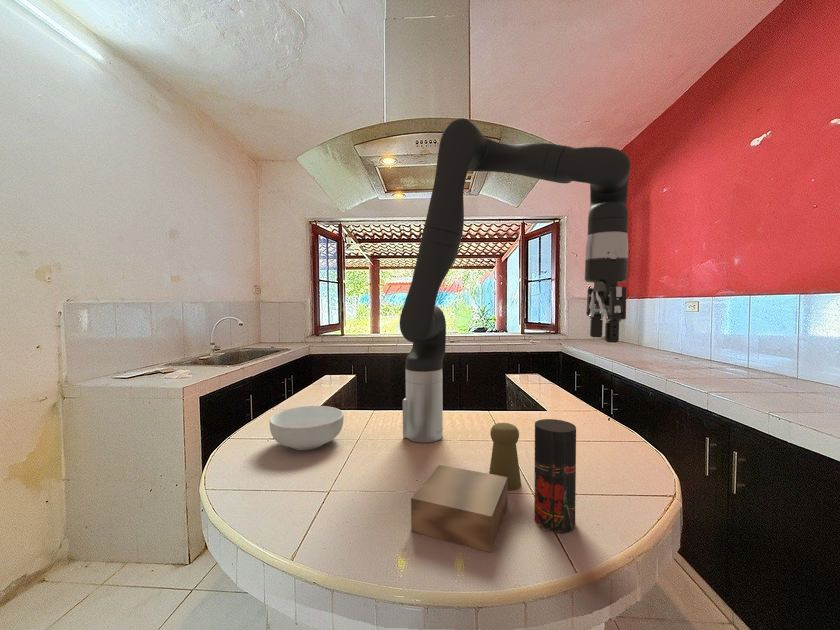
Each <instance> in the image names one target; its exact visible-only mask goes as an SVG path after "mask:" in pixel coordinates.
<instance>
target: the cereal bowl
mask: <svg viewBox="0 0 840 630" xmlns="http://www.w3.org/2000/svg"><path fill="white" fill-rule="evenodd" d="M344 414H345V413H344V412H343V411H342V410H341V409H339V408H336V407H333V406H325V405H305V406H297V407H291V408H288V409H283V410H281V411H278V412H276V413H275V414H272V416H271V417H270V418H269V431H270V434H271V437H272V438H273V440H275V441H276V442H277V443H278V444H280V445H282V446H285V447H287V448H288V447H289V448H291V449H293V450H298V451H309V450H314V449H317V448H318V449H319V448H320V447H322V446H324V445H325V444H327V443H329V442H331V441H333V440H334V439H336V437H338V436H339V434H340V433H341V431H342V428H343V425H344V419H345V417H344Z"/></svg>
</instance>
